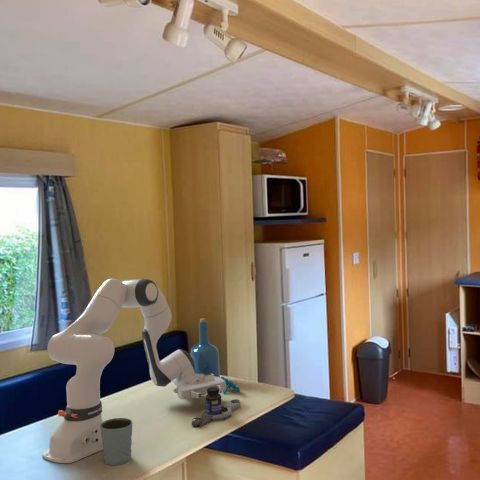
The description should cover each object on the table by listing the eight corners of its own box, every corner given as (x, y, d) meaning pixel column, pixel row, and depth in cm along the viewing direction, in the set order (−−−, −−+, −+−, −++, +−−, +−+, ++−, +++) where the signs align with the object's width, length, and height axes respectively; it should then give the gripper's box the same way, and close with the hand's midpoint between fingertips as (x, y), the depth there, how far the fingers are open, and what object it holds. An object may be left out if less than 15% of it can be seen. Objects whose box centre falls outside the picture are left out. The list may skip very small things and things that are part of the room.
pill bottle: (213, 421, 212) (211, 392, 211) (203, 417, 217) (201, 389, 216) (225, 416, 216) (224, 388, 215) (215, 412, 221) (214, 385, 220)
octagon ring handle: (204, 430, 203) (204, 423, 203) (183, 424, 210) (182, 417, 210) (248, 408, 224) (248, 401, 224) (228, 403, 231) (227, 397, 230)
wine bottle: (226, 381, 261) (223, 317, 259) (207, 389, 250) (204, 322, 249) (204, 377, 269) (201, 315, 267) (185, 384, 259) (181, 320, 257)
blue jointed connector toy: (244, 390, 242) (228, 376, 239) (237, 401, 239) (220, 388, 237) (233, 387, 251) (217, 373, 249) (226, 398, 249) (210, 385, 247)
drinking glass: (96, 460, 183) (94, 424, 182) (123, 449, 190) (120, 415, 189) (113, 469, 175) (111, 431, 175) (140, 458, 183) (138, 422, 182)
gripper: (171, 382, 227) (185, 390, 215) (215, 372, 238) (232, 380, 226) (172, 397, 228) (186, 407, 216) (216, 387, 238) (232, 395, 226)
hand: (210, 393), depth 221 cm, fingers open, 8 cm apart
